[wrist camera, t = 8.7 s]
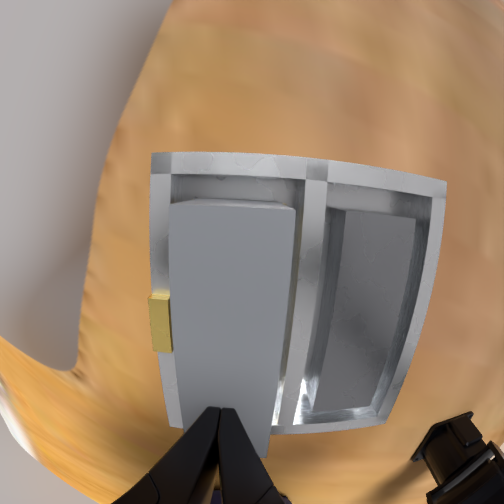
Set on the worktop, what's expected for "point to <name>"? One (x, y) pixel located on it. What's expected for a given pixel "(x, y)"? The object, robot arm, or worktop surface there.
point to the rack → (319, 277)
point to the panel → (230, 306)
